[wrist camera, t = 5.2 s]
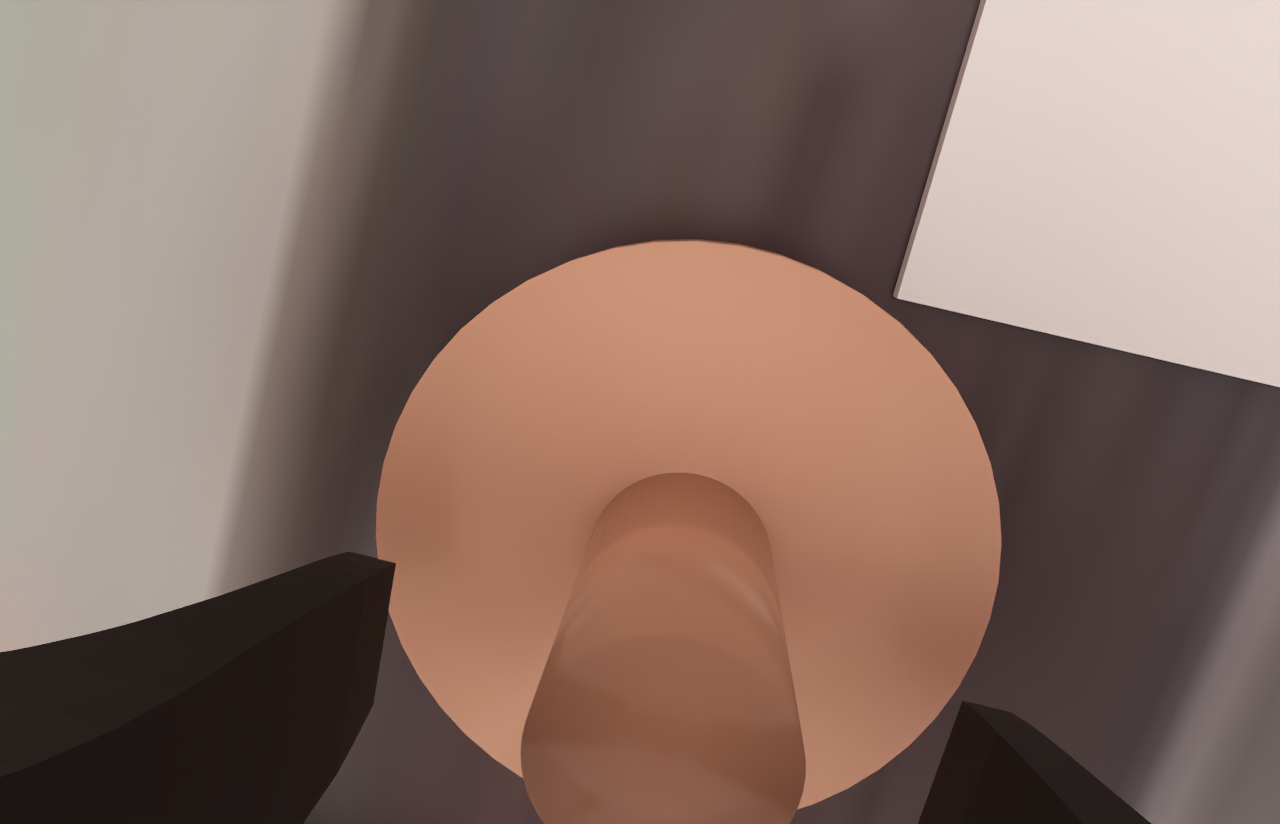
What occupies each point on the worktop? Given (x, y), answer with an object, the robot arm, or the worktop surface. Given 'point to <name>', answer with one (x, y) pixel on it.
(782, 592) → the lid
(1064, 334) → the mat
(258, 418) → the worktop surface
